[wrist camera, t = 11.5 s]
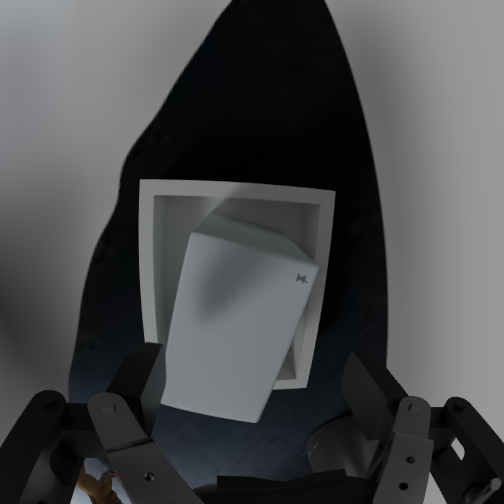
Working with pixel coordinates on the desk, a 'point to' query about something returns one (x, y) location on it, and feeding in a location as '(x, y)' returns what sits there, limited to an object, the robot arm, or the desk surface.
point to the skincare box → (234, 317)
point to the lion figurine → (98, 488)
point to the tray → (244, 208)
